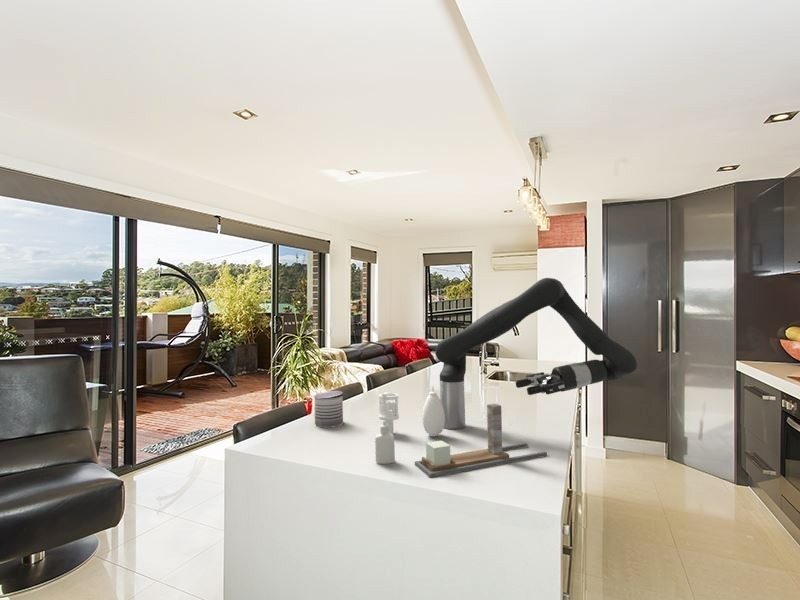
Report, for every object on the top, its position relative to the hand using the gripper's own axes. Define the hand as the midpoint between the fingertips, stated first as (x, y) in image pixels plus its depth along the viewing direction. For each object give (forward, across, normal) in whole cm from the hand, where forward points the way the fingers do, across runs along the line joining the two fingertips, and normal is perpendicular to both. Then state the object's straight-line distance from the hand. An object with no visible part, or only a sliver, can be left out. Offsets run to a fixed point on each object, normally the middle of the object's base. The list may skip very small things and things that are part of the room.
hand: (521, 387), depth 130 cm
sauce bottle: (+26, -23, +18) cm, 39 cm away
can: (+63, -47, +12) cm, 80 cm away
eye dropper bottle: (+45, -1, +13) cm, 47 cm away
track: (+16, +3, +18) cm, 24 cm away
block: (+30, +6, +13) cm, 34 cm away
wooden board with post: (+22, +4, +17) cm, 28 cm away
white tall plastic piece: (+41, -29, +15) cm, 53 cm away
